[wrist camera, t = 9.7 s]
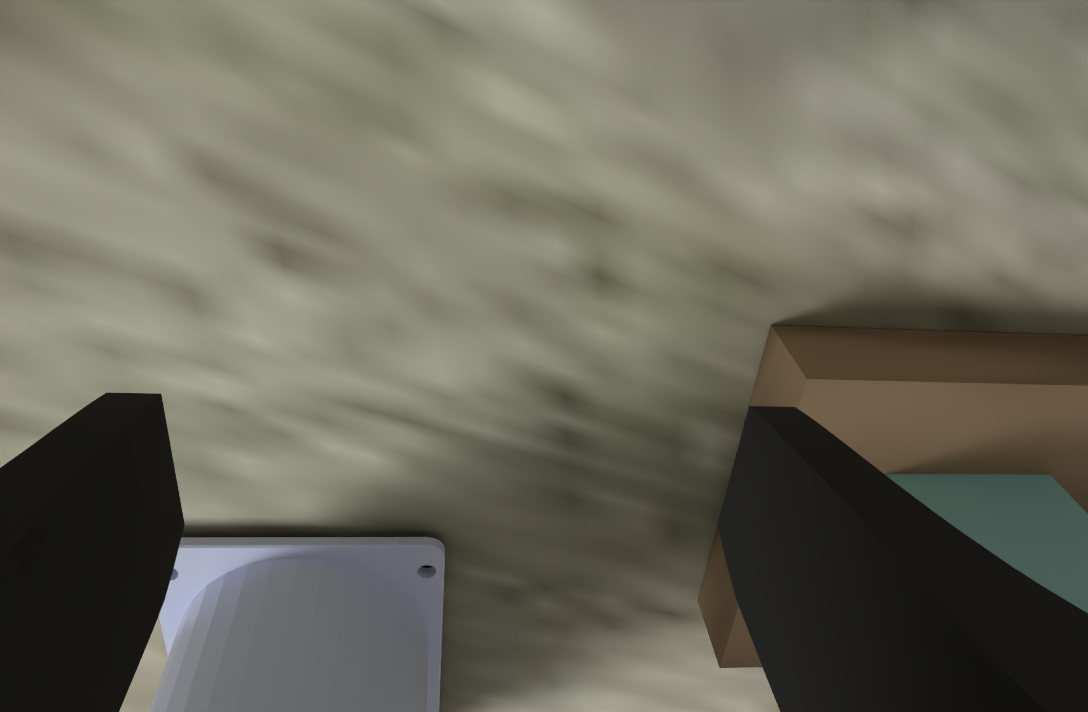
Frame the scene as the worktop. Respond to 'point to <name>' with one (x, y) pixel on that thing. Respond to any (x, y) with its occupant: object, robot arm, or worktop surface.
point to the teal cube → (1015, 523)
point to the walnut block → (920, 417)
